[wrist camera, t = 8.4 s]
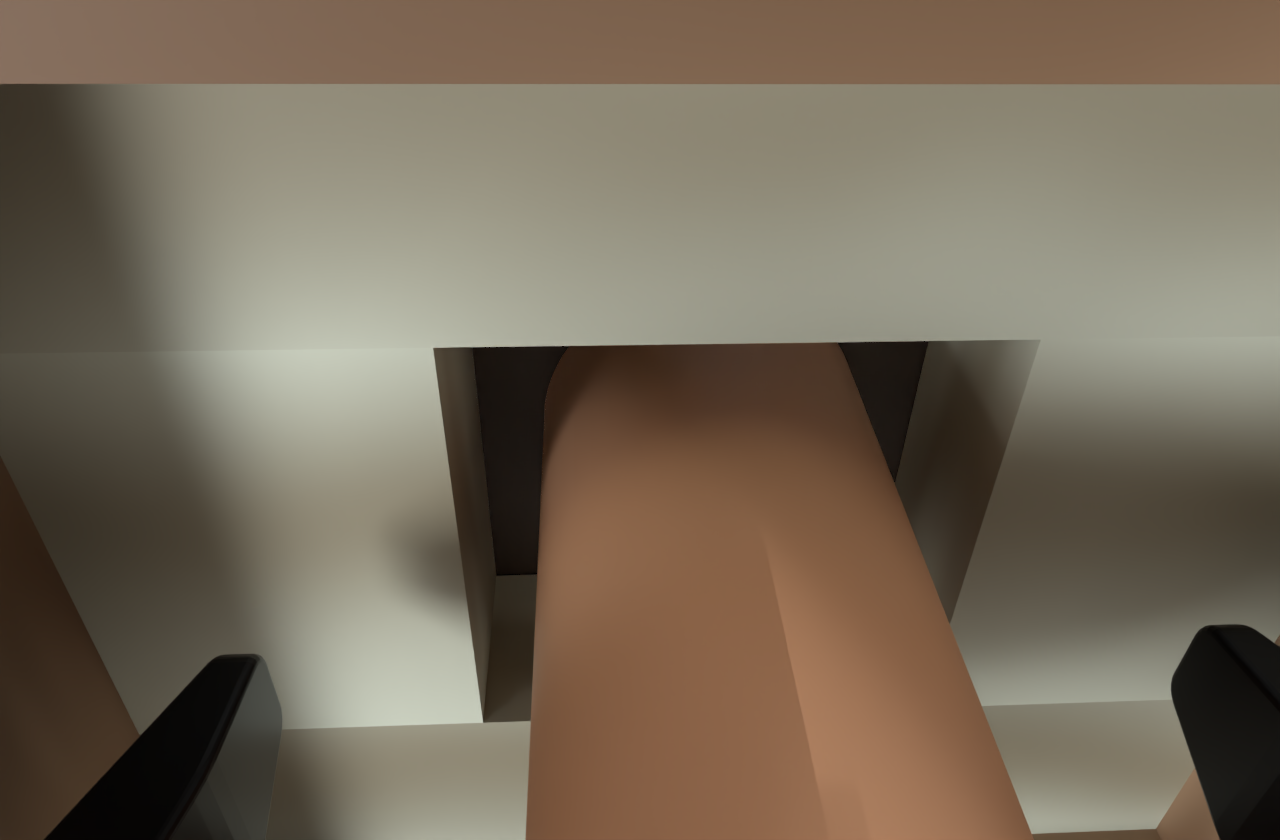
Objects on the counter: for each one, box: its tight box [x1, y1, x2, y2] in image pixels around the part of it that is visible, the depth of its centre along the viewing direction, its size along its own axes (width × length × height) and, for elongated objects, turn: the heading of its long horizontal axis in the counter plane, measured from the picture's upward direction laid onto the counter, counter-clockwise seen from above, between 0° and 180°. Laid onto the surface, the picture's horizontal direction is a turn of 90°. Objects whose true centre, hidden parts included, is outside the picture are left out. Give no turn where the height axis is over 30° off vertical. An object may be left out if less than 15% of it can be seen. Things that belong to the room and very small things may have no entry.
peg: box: [525, 342, 1034, 840], centre depth 9 cm, size 4×4×8 cm
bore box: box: [0, 0, 1280, 840], centre depth 11 cm, size 14×16×5 cm
